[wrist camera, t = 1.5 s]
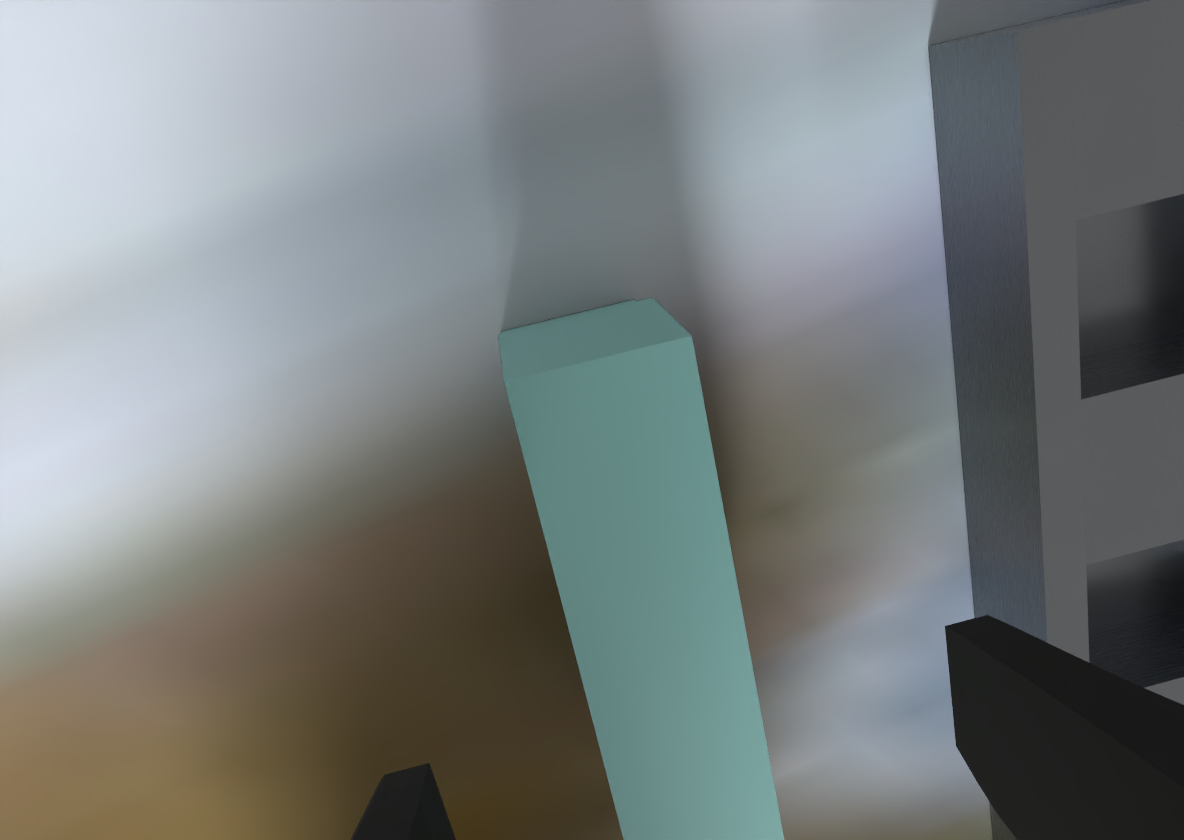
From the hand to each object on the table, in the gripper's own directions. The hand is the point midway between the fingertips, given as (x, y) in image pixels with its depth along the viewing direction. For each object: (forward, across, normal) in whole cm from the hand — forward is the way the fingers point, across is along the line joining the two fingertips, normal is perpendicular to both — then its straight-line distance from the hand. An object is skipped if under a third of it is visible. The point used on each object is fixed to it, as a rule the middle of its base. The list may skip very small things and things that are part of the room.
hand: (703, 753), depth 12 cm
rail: (+8, -11, +4) cm, 14 cm away
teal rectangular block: (+8, 0, 0) cm, 8 cm away
